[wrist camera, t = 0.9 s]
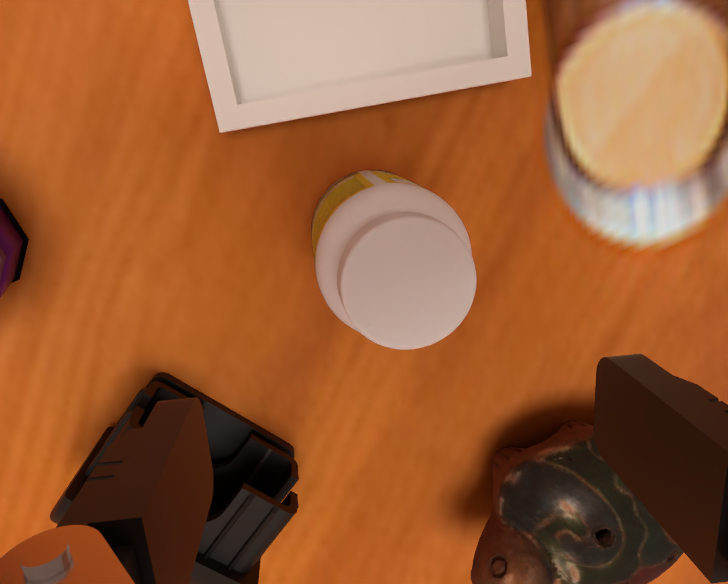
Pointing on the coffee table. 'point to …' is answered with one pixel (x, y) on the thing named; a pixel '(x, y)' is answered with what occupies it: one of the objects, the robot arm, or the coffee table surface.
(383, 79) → the tray
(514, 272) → the coffee table surface
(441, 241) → the pill bottle
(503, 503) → the decorative turtle
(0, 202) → the potion bottle
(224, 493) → the end cap
